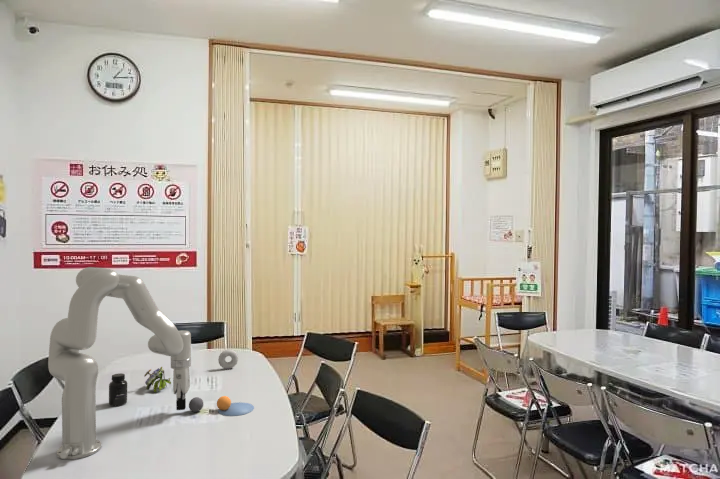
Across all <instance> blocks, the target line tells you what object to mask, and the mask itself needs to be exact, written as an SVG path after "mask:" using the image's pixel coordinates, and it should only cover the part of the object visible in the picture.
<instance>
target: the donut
mask: <svg viewBox="0 0 720 479" xmlns="http://www.w3.org/2000/svg"><path fill="white" fill-rule="evenodd" d="M227 357H230V358H231V360H230V361H226V358H227ZM238 361H239V356H238V353H237V352H236V351H235V350H233V349H228V348H227V349H225V350H223V351H221V353H220V354H219V356H218V364H219V366H220V367H221V368H223V369H226V370H230V369H232V368H234V367H235V366H236V365H237V364H238Z"/></svg>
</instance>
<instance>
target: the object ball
mask: <svg viewBox="0 0 720 479" xmlns="http://www.w3.org/2000/svg"><path fill="white" fill-rule="evenodd" d="M231 403H232V400H231V398H230V397H229V396H227V395H223V396H220V397H219V398H218V399H217V401H216V406H217V409H220V410H223V411H224V410H227V409H228V408H229V407H230V405H231Z"/></svg>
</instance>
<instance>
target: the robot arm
mask: <svg viewBox="0 0 720 479" xmlns="http://www.w3.org/2000/svg"><path fill="white" fill-rule="evenodd" d="M75 284H76V286H77V287H78V288H77V289H76V291H74V293H73V294H72V296H71V298H70V302H69V306H68V312H67V317H66V318H62V319H60V320H59V321H57V322H56V323H55V324H54V326H53V327H52V330H51V333H50V337H49V349H48V361H47V365H48V367H47V368H48V371H49V372H48V373H50V375H51V376H52V377H53V378H54V379H55V378H56V379H57V380H60V381H63V382H64V387H63V391H62V394H61V395H62V396H61V429H62V430H61V435H62V438H61V440H62V443H61V446H59V448H58V449H56V456H57V458H58V459H60V460H61V459H62V460H76V459H83V458H86V457H89V456H91V455H93V454H96V453H97V452H98V451H99V450H100V449H101V448H102V441H101V440H98V439H97V418H96V417H97V413H96V412H97V410H96V409H97V408H96V407H97V406H96V404H97V403H96V397H97V396H96V395H97V393H96V389H97V388H96V387H97V381H98V377H99V376H98V375H99V365H98V362H97V360H96V359H95V358H93V357H92V356H90V355H89V354H87V353H83V352H80V351H85V350H88V349H89V348H91V347H93V346H94V344H95V342H96V339H97V333H98V332H97V330H98V318H99V317H98V316H99V308H100V305H101V303H102V302H103V300H104V299H105V297H110V298H116V299H122V300H123V301H124V303H125V305H126V306H127V308H128V310H129V312H130V313H131V315H132V316H133V318H134V320H135V321H136V323H138V324H139V325H141V326H143V328H145V329H147V330H149V331H151V332H152V333H153V334H154V335H153V334H152V336H151V337H150V338H149V339H148V341H147V347H148V349H149V351H151V352H152V353H154V354H158V355H163V356H167V357H170V368H171V369H173V375H172V376H173V378H172V380H173V382H172V383H173V384H172V386H173V387H172V388H173V389H172V391H173V394H174V395H176V400H175V401H176V404H175V406H176V407H175V409H176V411H185V409H186V403H187V402H186V395H187V393H188V392H189V390H190V387H191V382H190V381H191V380H190V367H192V339H191V338H192V334H191V332H190V331H189V330H182V329H181V330H178V328H177V326H176V325H175V324H174V323H173V322H172V320H170V318H168V317H167V315H165V313H164V312H163V311H161V310H160V309H159V307H158V306H157V304H156V302H155V301H154V299H153V297H152V294H151V292H150V291H149V289H148V288H147V286H146V284H145V282H144V281H143V279H141V278H140V277H138V276H135V275H127V274H118V273H117V271H115V270H114V269H110V268H106V267H105V268H103V267H91V266H90V267H89V266H88V267H85V268H82V269H81V270H80V271H79V272H78V273H77V275H76V277H75Z"/></svg>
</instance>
